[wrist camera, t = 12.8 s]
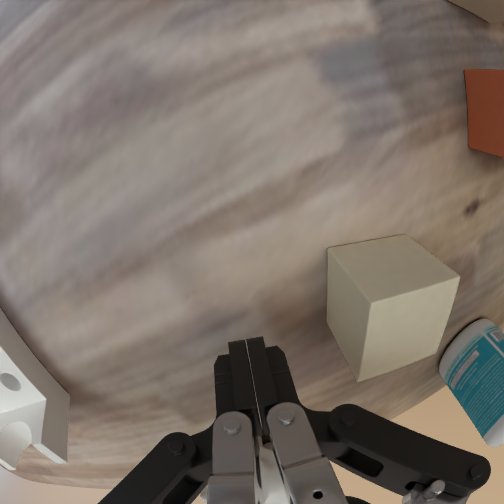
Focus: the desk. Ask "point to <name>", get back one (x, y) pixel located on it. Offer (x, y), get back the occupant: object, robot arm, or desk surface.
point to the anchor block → (485, 110)
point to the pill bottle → (478, 377)
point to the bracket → (29, 403)
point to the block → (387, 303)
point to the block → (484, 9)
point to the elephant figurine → (266, 477)
